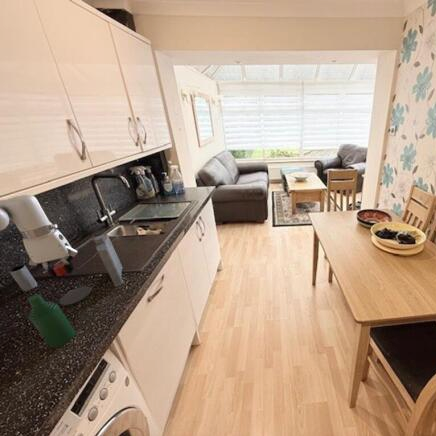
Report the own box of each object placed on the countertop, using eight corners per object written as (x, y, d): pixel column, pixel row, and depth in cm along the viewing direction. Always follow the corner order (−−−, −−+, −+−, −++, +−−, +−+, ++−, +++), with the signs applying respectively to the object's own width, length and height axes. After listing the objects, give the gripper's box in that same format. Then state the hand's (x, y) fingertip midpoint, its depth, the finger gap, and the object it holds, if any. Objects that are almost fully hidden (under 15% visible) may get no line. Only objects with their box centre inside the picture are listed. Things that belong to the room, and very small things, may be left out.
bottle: (43, 347, 74) (11, 305, 66) (63, 329, 79) (36, 289, 72) (62, 348, 73) (31, 306, 65) (80, 330, 79) (54, 289, 71)
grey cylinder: (28, 285, 102) (15, 265, 98) (40, 283, 103) (27, 264, 98) (20, 292, 98) (5, 272, 94) (32, 290, 99) (18, 270, 94)
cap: (63, 269, 91) (59, 262, 90) (73, 269, 91) (69, 262, 90) (53, 276, 88) (49, 269, 86) (63, 275, 87) (59, 269, 86)
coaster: (53, 305, 90) (52, 304, 90) (76, 287, 99) (76, 286, 99) (76, 306, 89) (75, 305, 89) (98, 287, 98) (97, 286, 98)
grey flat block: (123, 284, 99) (104, 243, 90) (112, 288, 97) (91, 247, 88) (122, 266, 111) (105, 228, 102) (112, 269, 109) (93, 231, 100)
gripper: (71, 221, 87) (93, 261, 95) (12, 232, 82) (40, 274, 90) (64, 229, 81) (87, 272, 89) (-2, 242, 75) (30, 287, 83)
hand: (63, 273), depth 89 cm, fingers closed on cap, 3 cm apart
